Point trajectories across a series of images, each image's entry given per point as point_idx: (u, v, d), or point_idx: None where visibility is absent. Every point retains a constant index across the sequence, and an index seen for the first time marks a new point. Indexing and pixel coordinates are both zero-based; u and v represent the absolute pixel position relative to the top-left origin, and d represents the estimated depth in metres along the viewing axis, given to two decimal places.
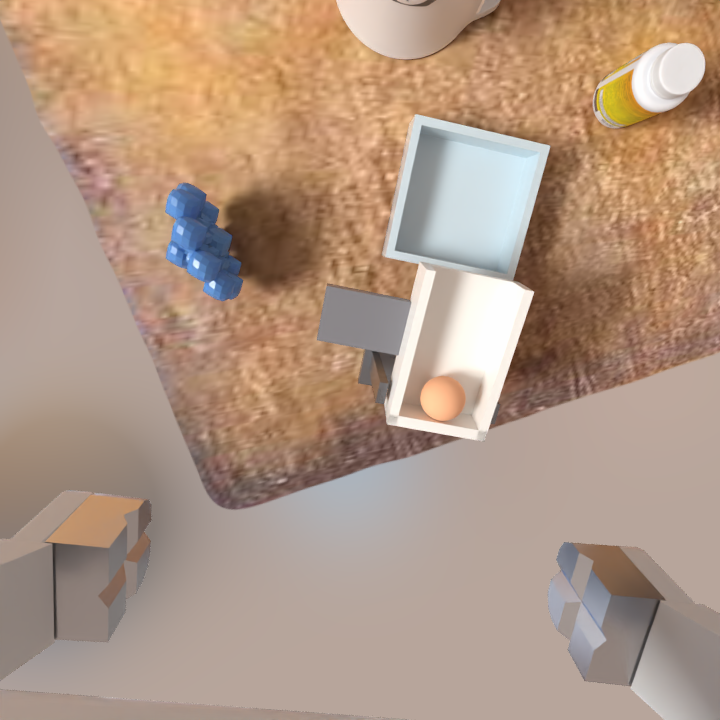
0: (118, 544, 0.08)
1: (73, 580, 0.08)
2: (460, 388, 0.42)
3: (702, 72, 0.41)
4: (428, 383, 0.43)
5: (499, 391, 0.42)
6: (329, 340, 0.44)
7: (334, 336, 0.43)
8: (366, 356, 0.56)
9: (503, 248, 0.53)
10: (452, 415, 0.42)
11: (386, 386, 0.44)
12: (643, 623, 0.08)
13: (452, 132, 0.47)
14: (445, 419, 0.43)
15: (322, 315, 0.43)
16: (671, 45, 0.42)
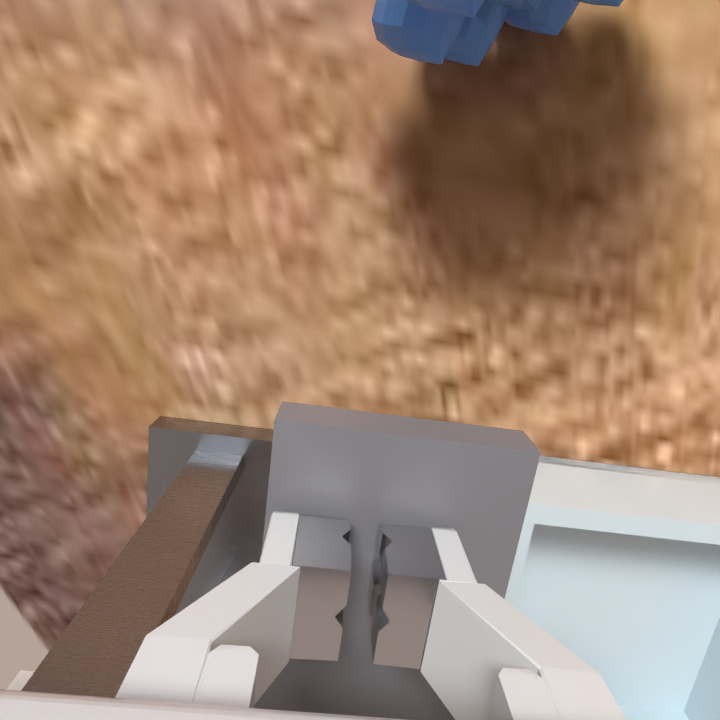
0: (349, 565, 0.08)
1: (313, 601, 0.08)
2: None
3: None
4: None
5: None
6: (278, 476, 0.09)
7: (300, 496, 0.09)
8: (227, 442, 0.21)
9: None
10: None
11: None
12: (426, 602, 0.08)
13: None
14: None
15: (399, 440, 0.09)
16: None
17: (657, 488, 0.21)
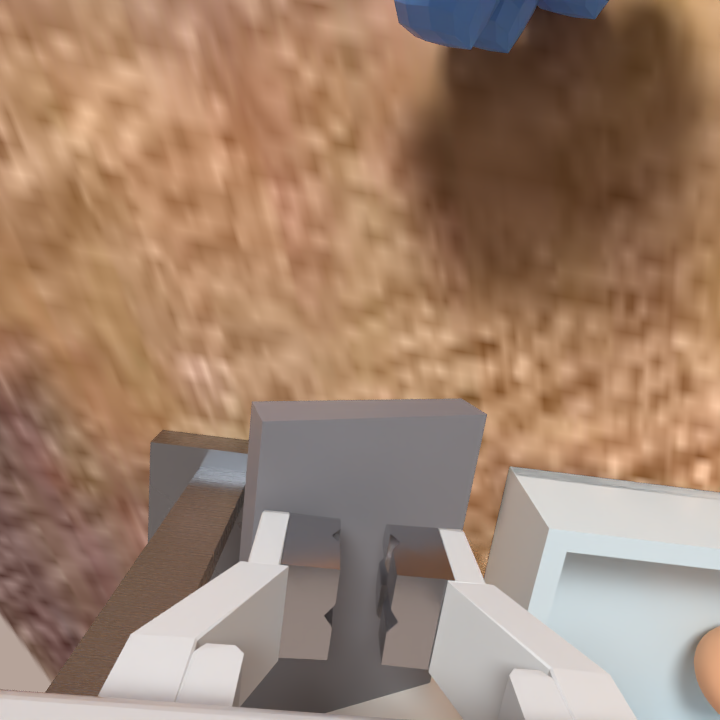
0: (339, 564, 0.08)
1: (302, 601, 0.08)
2: None
3: None
4: None
5: None
6: (267, 477, 0.09)
7: (288, 492, 0.09)
8: (233, 458, 0.19)
9: None
10: None
11: None
12: (435, 604, 0.08)
13: None
14: (713, 691, 0.20)
15: (377, 422, 0.10)
16: None
17: (697, 511, 0.19)
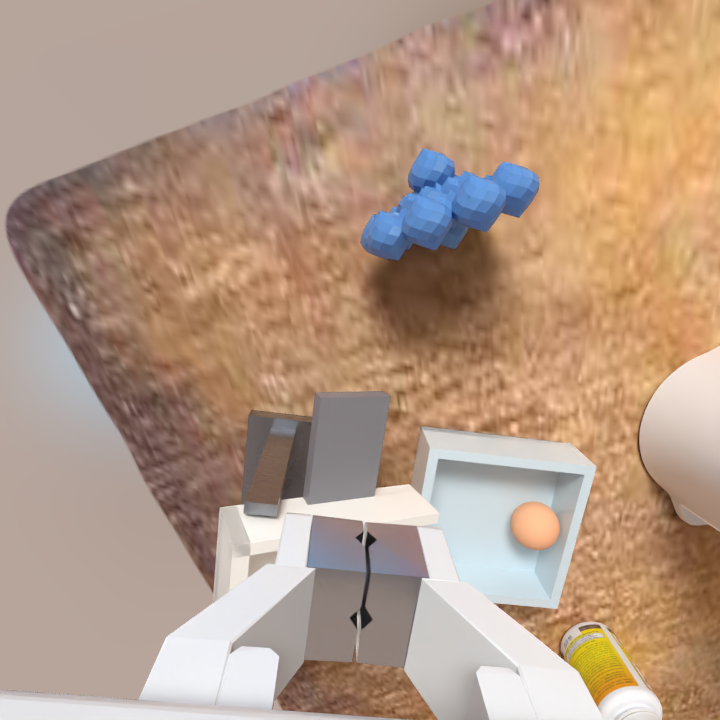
0: (364, 567, 0.08)
1: (328, 603, 0.08)
2: (548, 547, 0.41)
3: None
4: (552, 514, 0.41)
5: None
6: (321, 414, 0.31)
7: (327, 419, 0.31)
8: (288, 422, 0.41)
9: None
10: (519, 538, 0.41)
11: (271, 514, 0.30)
12: (409, 601, 0.08)
13: (574, 507, 0.40)
14: (514, 529, 0.42)
15: (354, 398, 0.31)
16: (660, 717, 0.41)
17: (504, 444, 0.41)
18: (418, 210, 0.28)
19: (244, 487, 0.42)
